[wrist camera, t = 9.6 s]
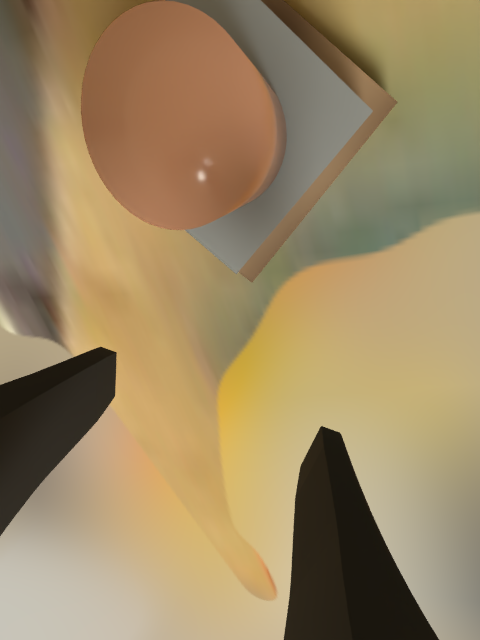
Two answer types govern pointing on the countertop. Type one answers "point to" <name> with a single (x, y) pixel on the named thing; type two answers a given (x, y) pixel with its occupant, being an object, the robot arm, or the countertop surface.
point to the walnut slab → (381, 108)
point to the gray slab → (300, 115)
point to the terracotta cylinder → (179, 117)
